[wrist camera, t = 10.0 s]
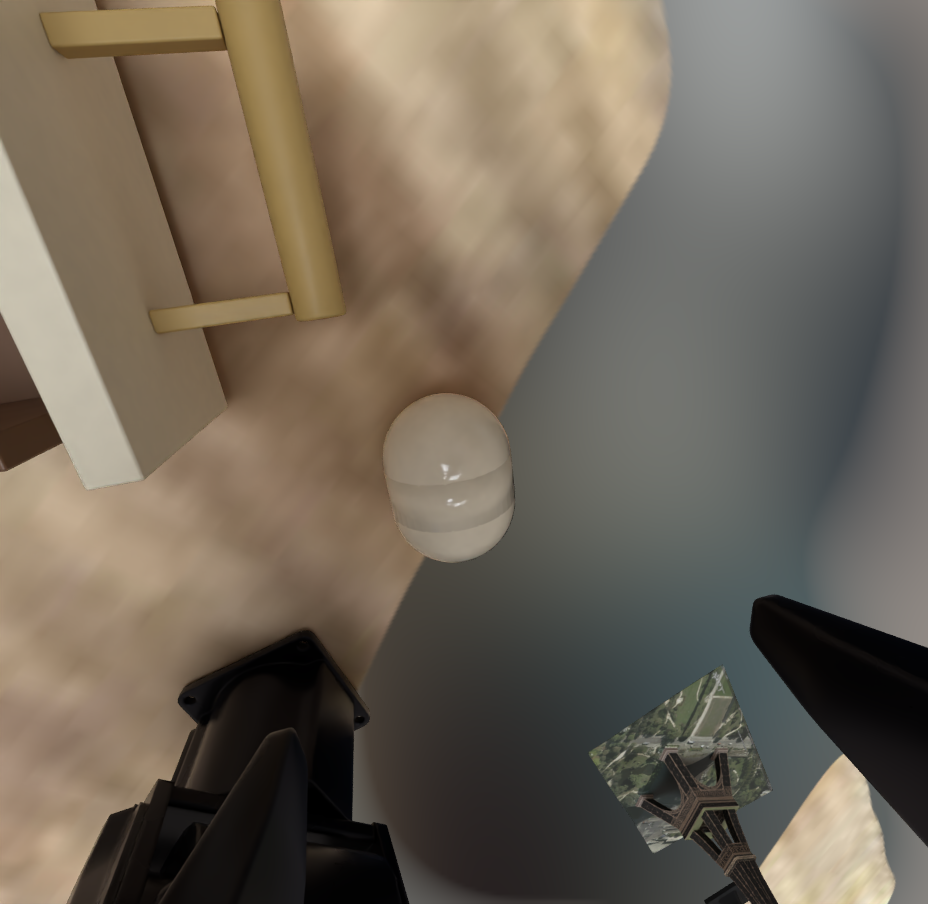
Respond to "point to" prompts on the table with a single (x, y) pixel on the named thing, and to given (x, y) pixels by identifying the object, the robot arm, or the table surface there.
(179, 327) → the drawer
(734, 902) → the surveillance camera
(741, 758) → the eiffel tower figurine
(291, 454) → the table surface
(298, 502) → the table surface
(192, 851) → the robot arm
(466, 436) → the egg
